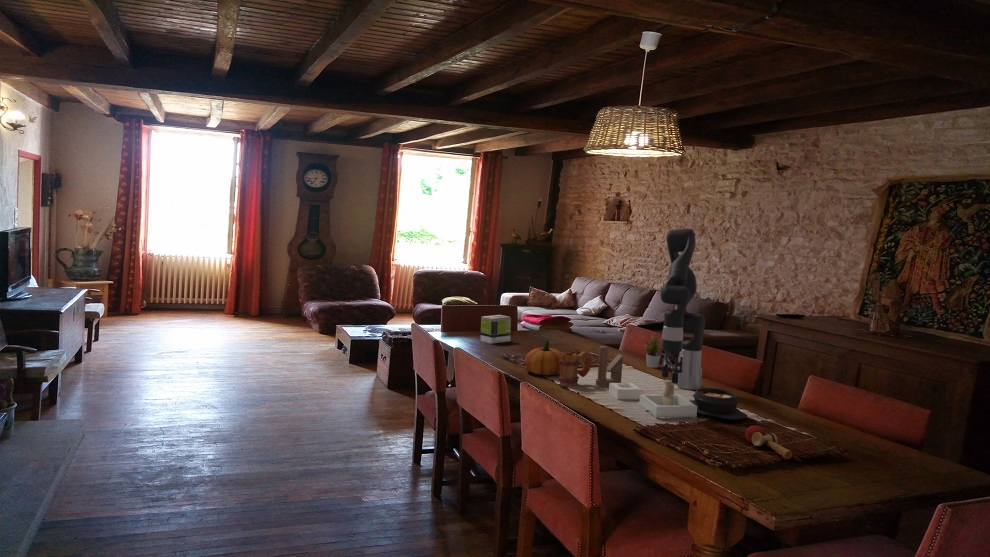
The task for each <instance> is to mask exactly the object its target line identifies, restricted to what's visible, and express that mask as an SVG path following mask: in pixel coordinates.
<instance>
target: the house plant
mask: <svg viewBox="0 0 990 557" xmlns="http://www.w3.org/2000/svg"><path fill="white" fill-rule="evenodd" d="M642 339H643V340H644V341H645V343H646V344H647V345H646V344H644V346H645V347H643V349H644V350H645V351H646V352H647V353H646V354H645V356H646V358H645V359H646V367H647V368H652V369H657V368H658V367H659V365H660V356H661V354H659V353H660V352H661V350H662V347H660V346H662V337H661V338H660V339H658V341H657V338H656V335H655V334H654V336H653V335H651V337H650V340H651V341H650V344H649V342H648V341H647V339H645V338H644V337H642Z"/></svg>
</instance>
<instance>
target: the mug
mask: <svg viewBox="0 0 990 557" xmlns="http://www.w3.org/2000/svg"><path fill="white" fill-rule="evenodd" d="M580 361H582V362H583V366H582V368H581V369H578V365H579V363H580ZM559 363H560V364H561V373H560V374H559V377H558V379H557V381H558V382H559V384H560V386H562V387H565V388H569V387H574V386H577V385H578V381H579V379H580V377H582V378H584V377H586V376H587V375H588V374H589V372H590V369H591V368H592V367H591V366H592V359H591V356H590V354H589V353H588V352H587V351H584V350H583V351H581V352H580V353H579V354H576V353H573V352H563V353H562V359H561V360H560V362H559ZM579 376H580V377H579Z"/></svg>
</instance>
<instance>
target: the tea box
mask: <svg viewBox="0 0 990 557" xmlns="http://www.w3.org/2000/svg"><path fill="white" fill-rule="evenodd" d="M511 326H512V317H511V316H509V315H507V316H506V315H502V314H496V315H495V314H494V315H487V316H486V315H484V316H481V317H480V342H483V343H486V344H489V345H491V344H492V345H493V344H498V343H507V342H511V337H512V336H511V335H512V334H511V331H512V329H511V328H512V327H511Z"/></svg>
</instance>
